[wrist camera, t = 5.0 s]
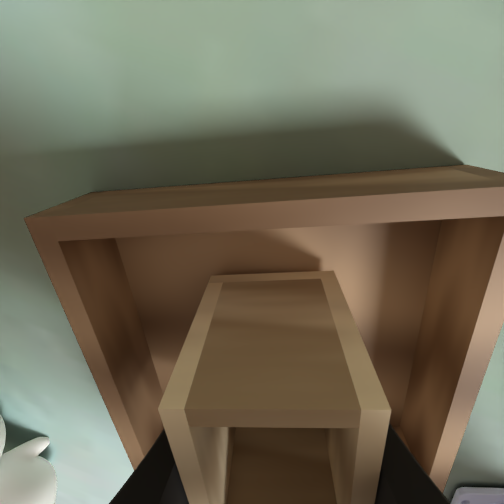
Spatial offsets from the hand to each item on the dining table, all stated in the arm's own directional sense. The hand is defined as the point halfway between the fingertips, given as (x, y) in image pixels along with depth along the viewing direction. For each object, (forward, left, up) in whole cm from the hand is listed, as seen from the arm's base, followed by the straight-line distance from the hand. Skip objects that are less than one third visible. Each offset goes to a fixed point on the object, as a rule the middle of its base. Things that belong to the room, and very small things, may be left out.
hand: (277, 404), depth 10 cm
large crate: (0, 0, -4) cm, 4 cm away
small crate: (0, 0, -3) cm, 3 cm away
